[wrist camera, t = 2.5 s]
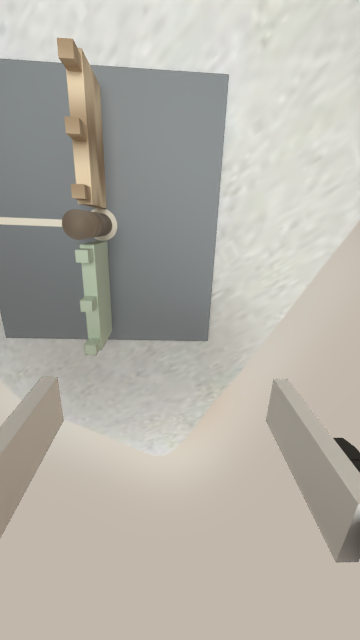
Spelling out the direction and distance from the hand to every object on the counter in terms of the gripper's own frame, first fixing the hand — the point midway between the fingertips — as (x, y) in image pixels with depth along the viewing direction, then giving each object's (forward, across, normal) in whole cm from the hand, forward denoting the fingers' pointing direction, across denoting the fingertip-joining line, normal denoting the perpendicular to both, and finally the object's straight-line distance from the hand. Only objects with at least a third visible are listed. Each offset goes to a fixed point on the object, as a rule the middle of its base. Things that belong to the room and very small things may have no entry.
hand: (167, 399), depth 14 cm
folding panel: (+17, -7, +2) cm, 19 cm away
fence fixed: (+18, -7, +14) cm, 23 cm away
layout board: (+18, -7, +8) cm, 21 cm away
